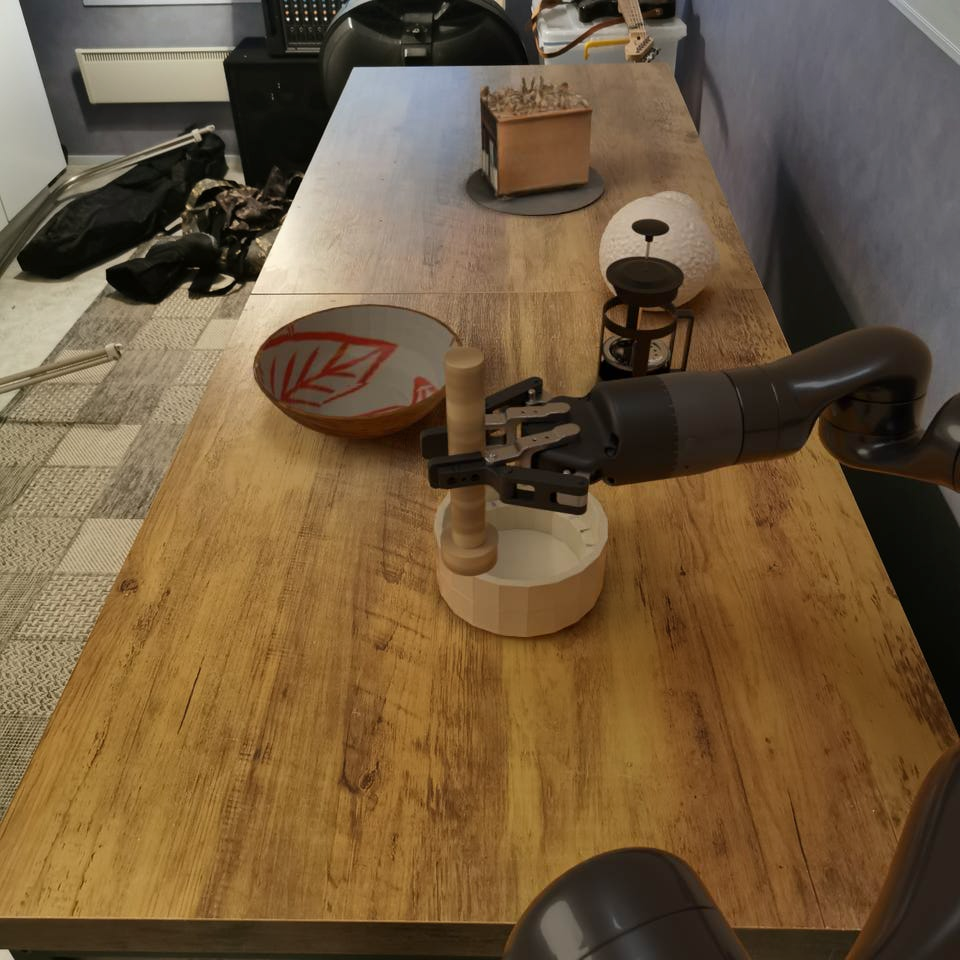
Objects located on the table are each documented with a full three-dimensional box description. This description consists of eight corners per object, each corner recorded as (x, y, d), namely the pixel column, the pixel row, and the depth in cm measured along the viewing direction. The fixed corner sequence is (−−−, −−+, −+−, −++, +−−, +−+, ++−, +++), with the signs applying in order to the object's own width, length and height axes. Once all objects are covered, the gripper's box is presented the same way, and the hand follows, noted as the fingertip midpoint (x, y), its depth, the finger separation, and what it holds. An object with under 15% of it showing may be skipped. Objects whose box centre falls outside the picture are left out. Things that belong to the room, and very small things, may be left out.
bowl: (245, 379, 121) (234, 326, 116) (426, 340, 128) (423, 288, 123) (289, 497, 103) (278, 440, 98) (496, 443, 110) (496, 388, 105)
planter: (545, 229, 154) (549, 114, 142) (437, 189, 167) (433, 81, 155) (631, 183, 168) (642, 75, 156) (525, 149, 181) (528, 47, 169)
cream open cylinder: (624, 624, 89) (631, 570, 84) (454, 654, 86) (452, 599, 81) (575, 511, 101) (579, 457, 96) (425, 533, 99) (421, 480, 94)
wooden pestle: (504, 571, 69) (505, 371, 58) (446, 580, 69) (436, 379, 57) (492, 532, 73) (490, 334, 61) (436, 540, 72) (425, 342, 60)
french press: (591, 415, 114) (606, 243, 99) (585, 372, 122) (599, 206, 107) (686, 415, 114) (715, 243, 99) (675, 373, 121) (701, 206, 106)
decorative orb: (570, 321, 132) (576, 215, 121) (594, 264, 144) (602, 164, 134) (712, 341, 127) (731, 233, 117) (724, 281, 140) (743, 179, 130)
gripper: (691, 530, 64) (443, 568, 61) (627, 412, 74) (413, 441, 72) (707, 444, 59) (438, 482, 56) (636, 331, 69) (406, 359, 67)
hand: (425, 459), depth 64 cm, fingers closed on wooden pestle, 2 cm apart
